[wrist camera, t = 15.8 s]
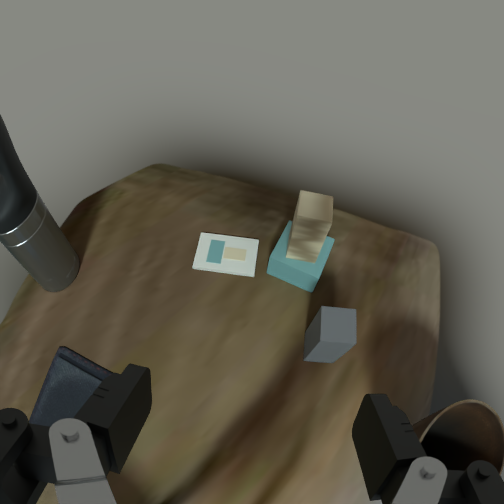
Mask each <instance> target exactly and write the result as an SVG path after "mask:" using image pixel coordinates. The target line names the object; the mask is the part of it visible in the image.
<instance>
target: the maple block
mask: <svg viewBox="0 0 504 504" xmlns="http://www.w3.org/2000/svg"><path fill="white" fill-rule="evenodd" d="M332 216H333V197H331V196H327V195H322V194H317V193H313V192H308V191H303V190H301V191H300V194H299V198H298V202H297V206H296V210H295V214H294V218H293V222H292V226H291V230H290V233H289V240H288V246H287V252H286V258H290V259H295V260H300V261H305V262H310V263H315V262H316V260H317V257H318V255H319V253H320V250H321V248H322V246H323V243H324V241H325V239H326V236H327V234H328V231H329V229H330V227H331V224H332Z"/></svg>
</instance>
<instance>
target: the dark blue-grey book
mask: <svg viewBox="0 0 504 504" xmlns="http://www.w3.org/2000/svg"><path fill="white" fill-rule="evenodd" d="M112 374H114V373H112V372H110V371H108V370H106V369H105V368H103V367H101V366H99V365H97V364H95V363H94V362H92V361H90V360H88V359H86V358H85V357H83V356H81V355H79V354H78V353H76V352H74V351H72V350H70V349H68V348H67V347H59V349H58V351H57V353H56V355H55V357H54V359H53V361H52V364H51V366H50V368H49V371H48V373H47V376H46V378H45V381H44V383H43V386H42V388H41V391H40V394H39V396H38V399H37V401H36V404H35V407H34V409H33V412H32V414H31V417H30V420H29V423H32V424H37V425H43V426H52V425H53V424H54V423H55V422H56V421H58V420H61V419H66V418H73V417H74V416H75V415H76V414H77V412H78V411H79V410H80V409H81V407H82V406H83V405H84V403H85V402H86V401H87V400H88V398H89V397H90V396H91V395H92V394H93V392H94V391H95V390H96V388H98V386H99V385H100V383H101V382H102V381H103V380H104V378H106V377H108V376H110V375H112Z"/></svg>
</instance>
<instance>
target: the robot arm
mask: <svg viewBox="0 0 504 504" xmlns="http://www.w3.org/2000/svg"><path fill="white" fill-rule="evenodd" d="M0 242H1V243H2V244H3V245H4V246H5V247H6V248H7V250H8V251H9V252H10V253H11V254H12V255H13V256H14V257H15V259H16V260H17V261H18V262H19V263H20V264H21V265H22V266H23V267H24V268H25V270H27V271H28V273H29V274H30V275H31V276H32V277H33V278H34V279H35V280H36V281H37V282H38V283H39V284H40V285H41V286H42V287H43V288H44V289H45V290H47V291H50V292H57V291H61V290H63V289H65V288H66V287H67V286H69V285H70V284H71V283H72V282H73V280H74V279H75V277H76V275H77V273H78V270H79V264H80V263H79V258H78V255H77V254H76V252H75V251H74V249H73V248H72V246H71V245H70V243H69V242H68V240H67V239H66V237H65V236H64V234H63V233H62V231H61V230H60V228H59V227H58V225H57V223H56V222H55V220H54V219H53V217H52V215H51V214H50V212H49V211H48V209H47V207H46V206H45V204H44V203H43V201H42V199H41V197H40V196H39V194H38V192H37V190H36V189H35V187H34V185H33V184H32V182H31V180H30V179H29V177H28V175H27V173H26V172H25V170H24V168H23V166H22V164H21V162H20V160H19V158H18V155H17V153H16V151H15V149H14V146H13V144H12V141H11V139H10V136H9V133H8V131H7V129H6V126H5V124H4V121H3V119H2V117H1V115H0ZM151 405H152V393H151V375H150V369H149V368H147V367H142V366H138V365H134V364H129V365H128V366H127V367H126V368H125V370H124V371H123V372H122V374H118V373H114V374H112V375H110V376H108V377H106V378H104V380H103V381H102V382H101V383H100V385H99V386H98V388H96V390H95V391H94V392H93V394H92V395H91V396H90V397H89V398H88V400H87V401H86V402H85V403H84V405H83V406H82V407H81V409H80V410H79V411H78V412H77V414H76V415H75V416H74V417H73V418H66V419H61V420H58V421H56V422H55V423H54V424H53V425H52V426H43V425H37V424H32V423H29V421H28V419H27V416H26V415H25V414H24V413H23V412H22V411H20V410H18V409H15V408H5V409H2V410H0V504H36V503H37V501H38V499H39V497H40V495H41V494H42V492H43V490H44V488H45V487H46V485H47V483H53V484H55V490H56V494H57V498H58V502H59V504H117V503H116V501H115V499H114V496H113V494H112V491H111V489H110V486H109V484H108V481H107V479H106V476H107V474H108V472H109V470H110V471H112V472H115V473H118V474H120V472H121V470H122V468H123V465H124V463H125V461H126V459H127V457H128V455H129V453H130V451H131V449H132V447H133V445H134V443H135V441H136V439H137V437H138V435H139V433H140V431H141V429H142V427H143V425H144V423H145V421H146V419H147V417H148V415H149V413H150V410H151ZM352 438H353V441H354V445H355V448H356V452H357V455H358V459H359V462H360V466H361V470H362V473H363V477H364V481H365V484H366V488H367V492H368V495H369V499H370V501H373V500H382V504H504V482H503V480H502V478H501V476H500V474H499V473H498V471H497V469H496V468H495V467H494V466H493V465H492V464H491V463H489V462H487V461H483V460H478V461H474V462H472V463H471V464H470V465H469V466H468V467H467V469H466V470H465V471H459V470H447V469H446V467H445V465H444V464H443V463H442V462H441V461H439V460H438V459H435V458H433V457H427V455H426V453H425V451H424V449H423V447H422V445H421V443H420V441H419V439H418V437H417V435H416V433H415V432H414V430H413V428H412V426H411V425H410V422H409V420H408V418H407V416H406V414H405V413H404V412H403V411H402V410H400V409H399V408H398V407H397V406H392V405H391V403H390V401H389V399H388V397H387V395H386V394H366V395H365V396H364V398H363V401H362V403H361V406H360V408H359V411H358V413H357V416H356V418H355V421H354V423H353V428H352Z"/></svg>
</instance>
